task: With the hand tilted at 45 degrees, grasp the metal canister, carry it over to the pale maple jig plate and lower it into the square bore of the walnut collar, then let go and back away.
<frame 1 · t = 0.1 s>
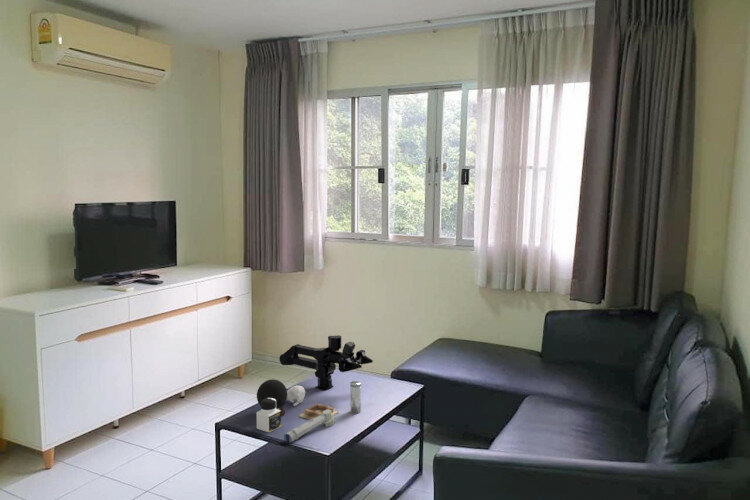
hand: (367, 363, 253), 17 cm above the table, tool horizontal, fingers open, 9 cm apart
medicine bottle: (268, 428, 222), on the table
jig: (319, 415, 235), on the table
metal canister: (355, 411, 239), on the table
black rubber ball: (272, 414, 236), on the table
white rounded lump: (292, 403, 249), on the table
octagon-capped white rod: (310, 433, 218), on the table
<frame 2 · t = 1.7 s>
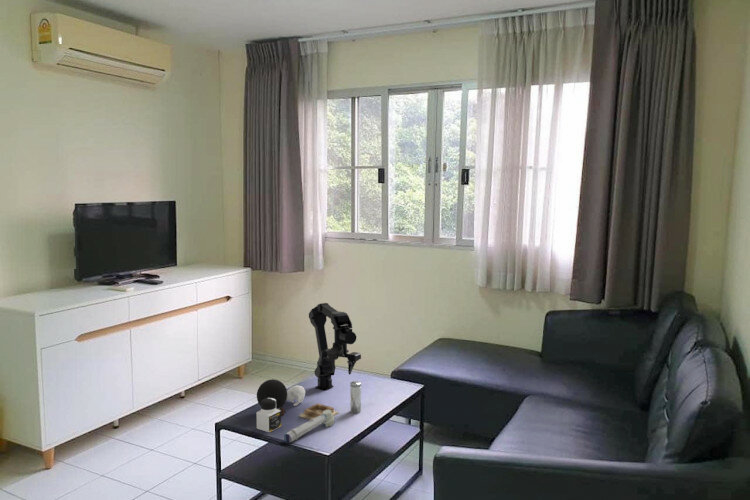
hand: (341, 373, 252), 13 cm above the table, tool pointing down, fingers open, 9 cm apart
nothing on the table moved.
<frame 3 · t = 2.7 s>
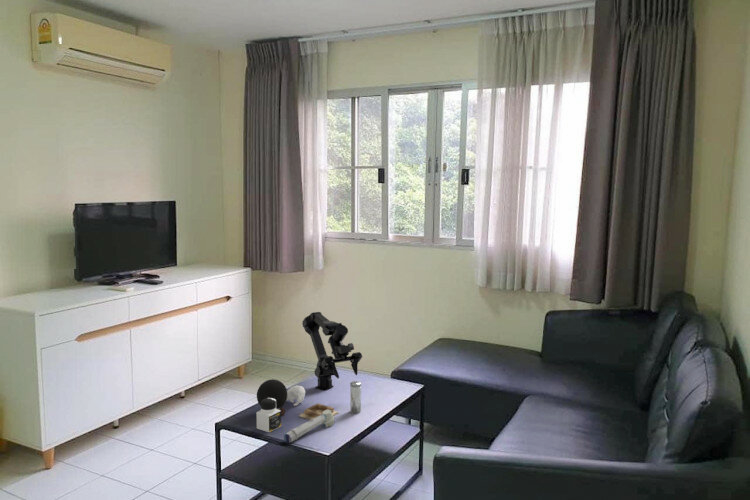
hand: (347, 376, 245), 13 cm above the table, tool tilted 45°, fingers open, 9 cm apart
nothing on the table moved.
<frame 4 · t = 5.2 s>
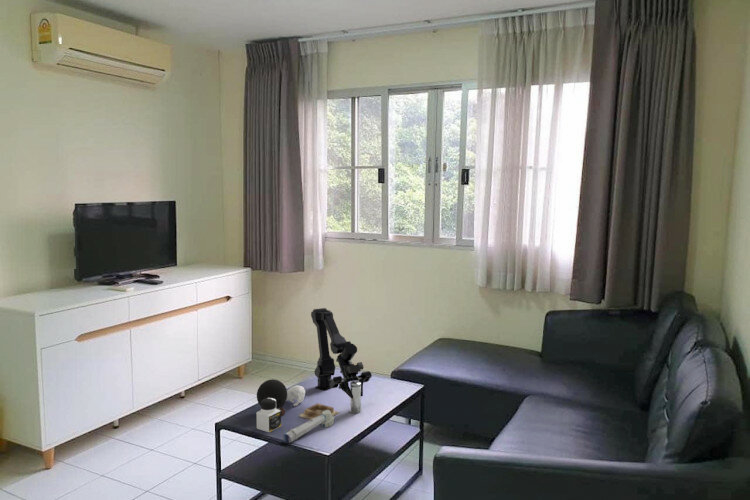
hand: (357, 397, 237), 7 cm above the table, tool tilted 45°, fingers closed on metal canister, 5 cm apart
metal canister: (355, 411, 239), on the table, touching gripper
everything else where it was.
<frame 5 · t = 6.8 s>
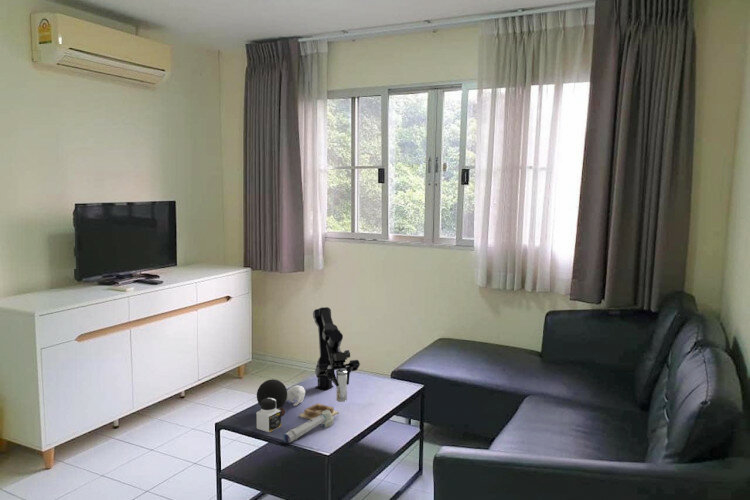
hand: (342, 385, 234), 13 cm above the table, tool tilted 45°, fingers closed on metal canister, 5 cm apart
metal canister: (341, 399, 236), point 6 cm above the table, touching gripper
everything else where it was.
when the fingers open (9 cm above the table, at t = 8.7 s): metal canister stays where it is, resting on jig.
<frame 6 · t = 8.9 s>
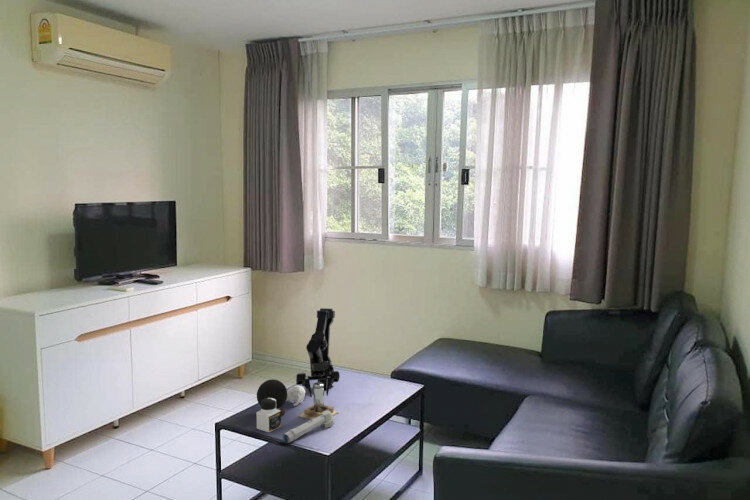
hand: (319, 396, 233), 9 cm above the table, tool tilted 45°, fingers open, 7 cm apart
metal canister: (319, 413, 235), point 1 cm above the table, touching jig
everything else where it was.
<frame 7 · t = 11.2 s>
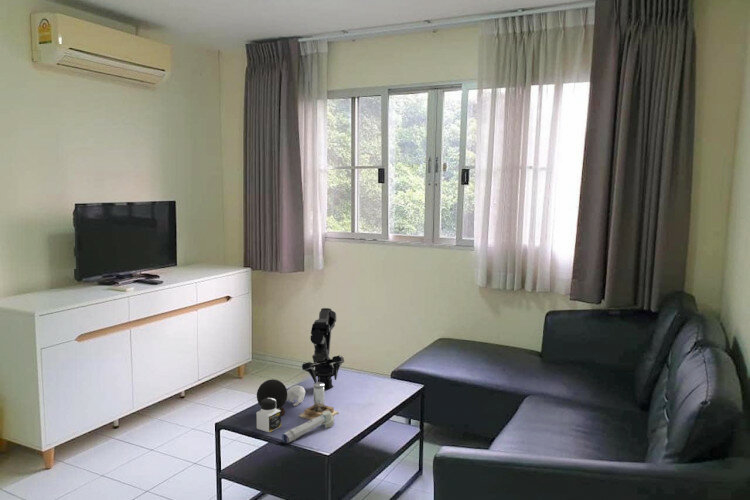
hand: (325, 382, 245), 11 cm above the table, tool tilted 30°, fingers open, 9 cm apart
nothing on the table moved.
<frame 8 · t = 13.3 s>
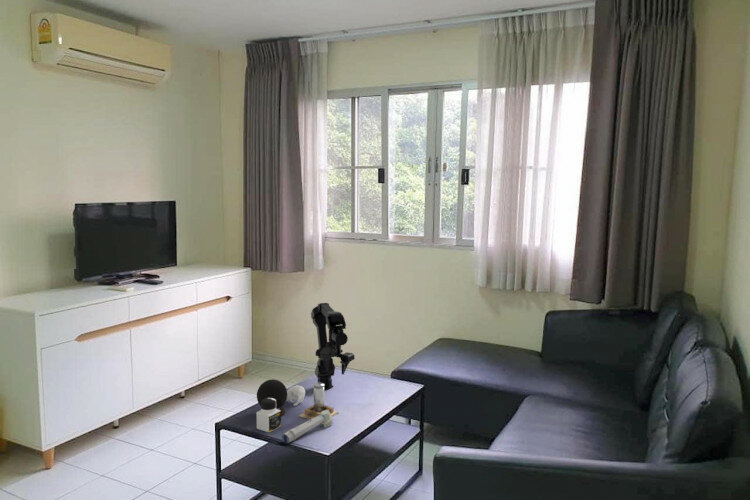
hand: (334, 372, 251), 13 cm above the table, tool pointing down, fingers open, 9 cm apart
nothing on the table moved.
at the end: metal canister 0.1 cm from the jig (horizontally); metal canister point 0.8 cm above the table; metal canister tilted 0° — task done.
